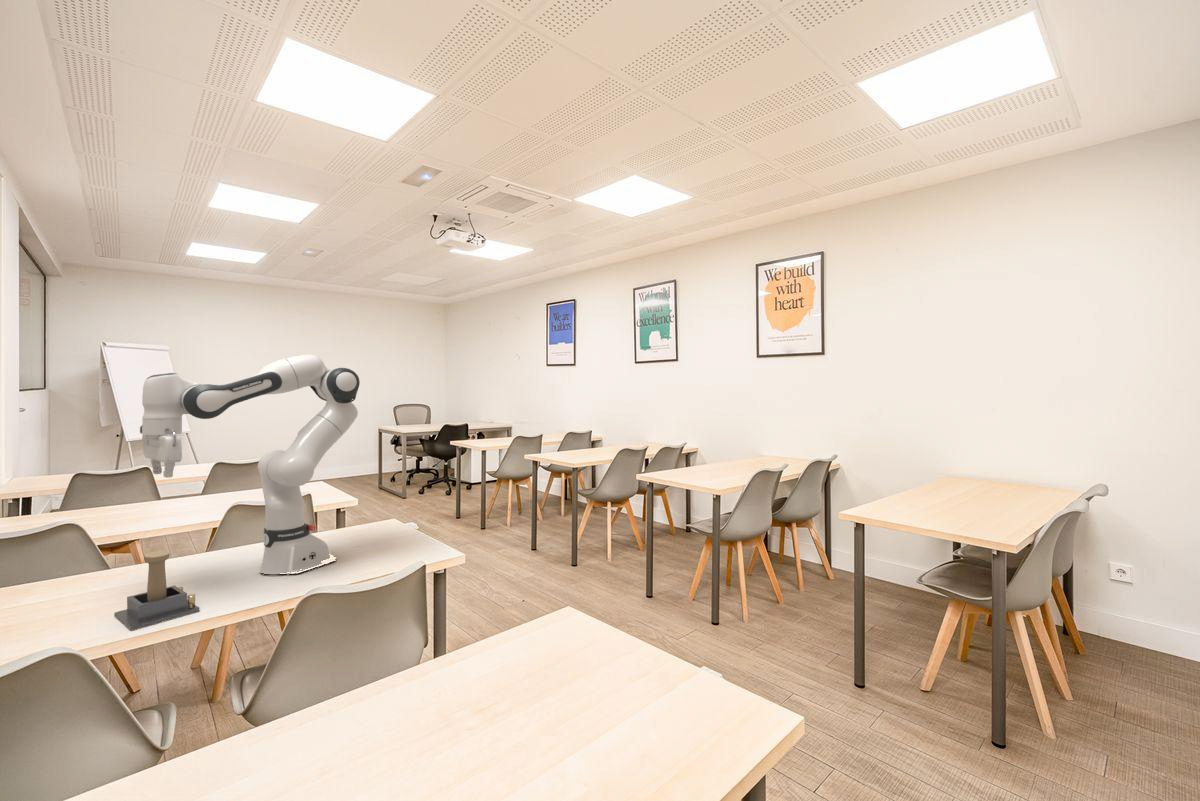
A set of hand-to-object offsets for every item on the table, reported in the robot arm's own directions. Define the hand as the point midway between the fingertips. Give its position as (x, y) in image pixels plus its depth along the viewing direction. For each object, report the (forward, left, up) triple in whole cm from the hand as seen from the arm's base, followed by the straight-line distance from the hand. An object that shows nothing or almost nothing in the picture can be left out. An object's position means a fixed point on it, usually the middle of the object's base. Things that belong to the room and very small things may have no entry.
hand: (162, 475), depth 151 cm
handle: (+6, +18, -33) cm, 38 cm away
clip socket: (+6, +18, -34) cm, 39 cm away
